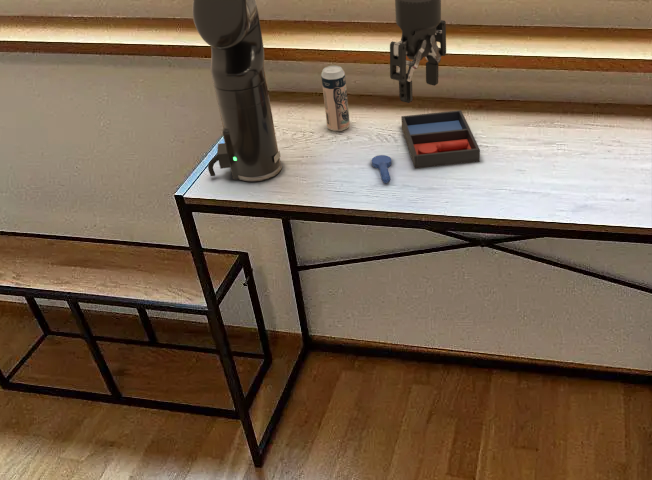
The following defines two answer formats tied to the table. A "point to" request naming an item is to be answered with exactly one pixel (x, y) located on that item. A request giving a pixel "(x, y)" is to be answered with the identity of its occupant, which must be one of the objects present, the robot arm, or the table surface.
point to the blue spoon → (382, 166)
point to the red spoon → (442, 147)
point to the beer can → (335, 98)
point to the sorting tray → (439, 138)
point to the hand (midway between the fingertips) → (419, 92)
